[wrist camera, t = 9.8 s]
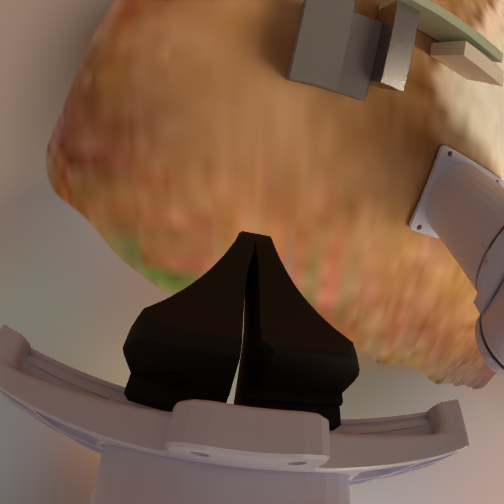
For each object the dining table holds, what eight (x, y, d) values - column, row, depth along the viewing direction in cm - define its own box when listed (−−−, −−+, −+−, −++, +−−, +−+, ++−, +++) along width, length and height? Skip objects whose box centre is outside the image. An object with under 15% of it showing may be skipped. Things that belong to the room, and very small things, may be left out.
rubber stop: (372, 27, 12) (398, 16, 9) (355, 98, 16) (378, 104, 12) (302, 5, 12) (309, -15, 8) (285, 79, 16) (289, 78, 12)
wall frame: (470, 68, 12) (510, 74, 8) (464, 84, 13) (504, 94, 9) (302, -30, 10) (310, -59, 6) (293, -12, 11) (300, -39, 7)
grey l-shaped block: (466, 51, 11) (502, 53, 7) (450, 122, 15) (485, 137, 11) (379, 2, 11) (406, -14, 7) (362, 80, 14) (387, 82, 11)
